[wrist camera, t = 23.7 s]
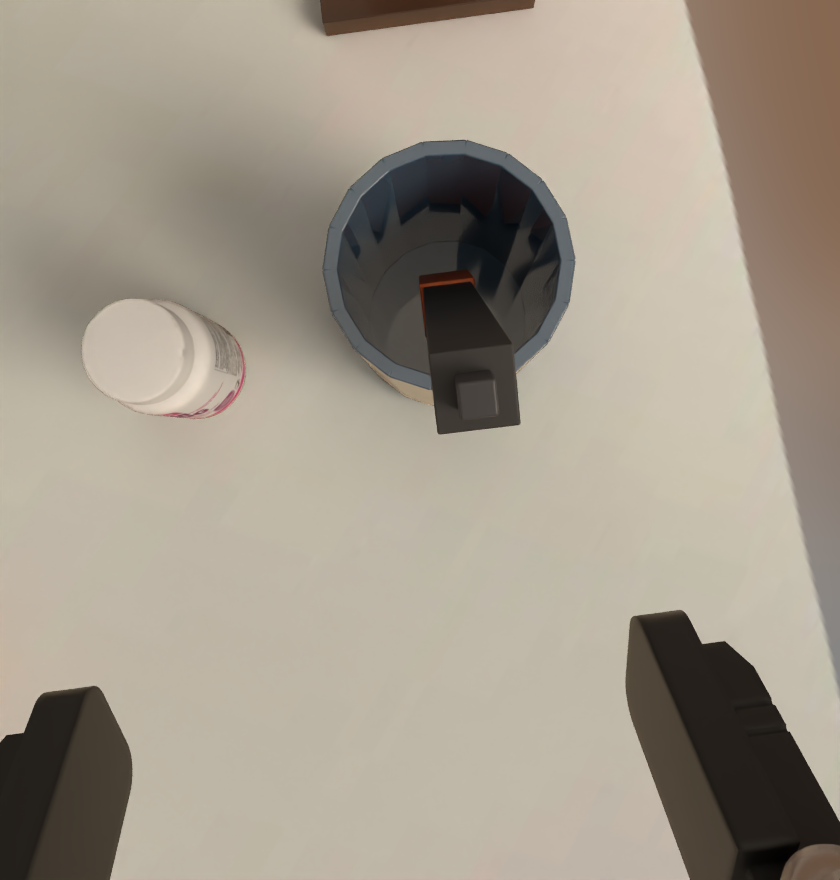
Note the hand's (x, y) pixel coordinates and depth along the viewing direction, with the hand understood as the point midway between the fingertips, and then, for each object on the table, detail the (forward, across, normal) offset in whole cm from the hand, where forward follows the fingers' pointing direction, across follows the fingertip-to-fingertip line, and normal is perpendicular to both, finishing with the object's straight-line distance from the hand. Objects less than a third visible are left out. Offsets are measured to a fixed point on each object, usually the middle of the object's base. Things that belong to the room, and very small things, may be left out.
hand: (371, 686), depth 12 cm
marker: (+17, -3, +3) cm, 18 cm away
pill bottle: (+27, +8, +8) cm, 29 cm away
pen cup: (+27, -4, +7) cm, 28 cm away
